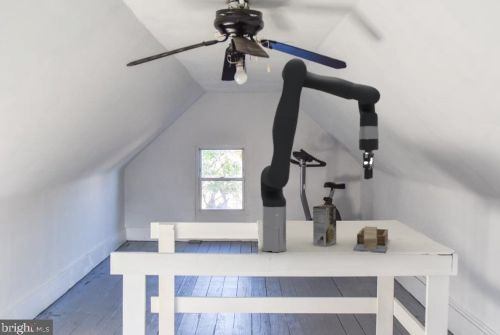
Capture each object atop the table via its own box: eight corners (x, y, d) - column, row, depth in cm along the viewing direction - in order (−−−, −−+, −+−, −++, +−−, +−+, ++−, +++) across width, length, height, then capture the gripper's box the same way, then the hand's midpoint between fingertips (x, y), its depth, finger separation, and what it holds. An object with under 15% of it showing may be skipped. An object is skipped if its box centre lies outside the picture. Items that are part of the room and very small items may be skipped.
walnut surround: (384, 247, 174) (384, 236, 174) (357, 245, 178) (357, 234, 178) (387, 239, 191) (387, 229, 191) (362, 238, 195) (362, 228, 195)
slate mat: (385, 253, 163) (385, 251, 163) (353, 250, 168) (353, 249, 168) (387, 247, 173) (387, 246, 173) (356, 245, 178) (356, 244, 178)
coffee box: (323, 241, 187) (323, 204, 186) (336, 243, 183) (336, 205, 182) (312, 244, 180) (312, 206, 179) (326, 246, 176) (326, 207, 175)
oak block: (375, 249, 168) (376, 228, 167) (364, 248, 169) (364, 227, 169) (377, 246, 172) (377, 226, 172) (365, 246, 173) (365, 226, 173)
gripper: (361, 139, 180) (361, 178, 180) (356, 137, 167) (356, 179, 167) (380, 139, 177) (380, 178, 178) (376, 137, 164) (376, 179, 164)
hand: (368, 178), depth 172 cm, fingers open, 8 cm apart
